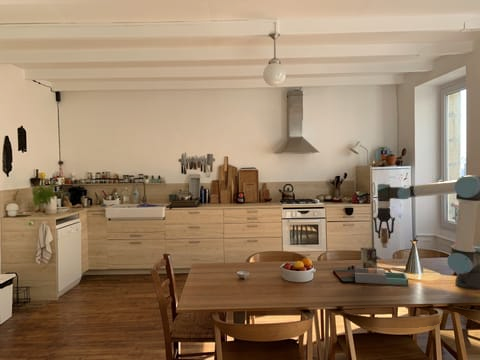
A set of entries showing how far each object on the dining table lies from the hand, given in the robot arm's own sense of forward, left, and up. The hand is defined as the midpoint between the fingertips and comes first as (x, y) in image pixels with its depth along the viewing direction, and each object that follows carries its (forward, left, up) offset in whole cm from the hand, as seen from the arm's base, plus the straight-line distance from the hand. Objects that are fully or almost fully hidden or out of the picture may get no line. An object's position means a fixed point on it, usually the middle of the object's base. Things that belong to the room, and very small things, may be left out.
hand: (384, 243), depth 234 cm
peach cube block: (+9, +11, -18) cm, 23 cm away
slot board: (+10, +11, -21) cm, 26 cm away
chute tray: (-5, +11, -21) cm, 25 cm away
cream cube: (+4, +11, -18) cm, 22 cm away
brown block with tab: (0, 0, -2) cm, 2 cm away
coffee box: (+10, -8, -21) cm, 25 cm away
